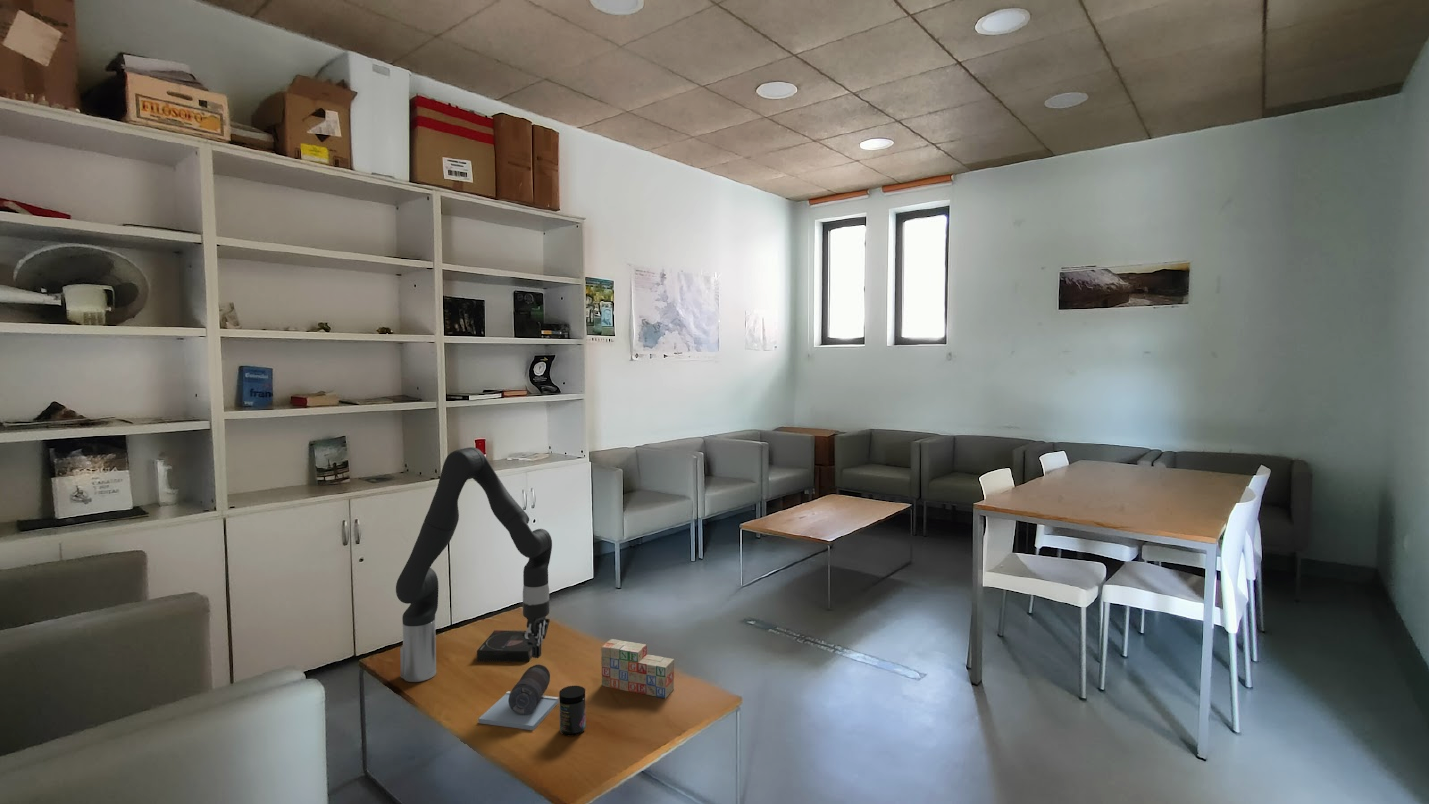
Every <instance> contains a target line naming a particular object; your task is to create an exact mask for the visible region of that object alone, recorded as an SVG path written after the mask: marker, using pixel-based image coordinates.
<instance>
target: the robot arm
mask: <svg viewBox="0 0 1429 804" xmlns="http://www.w3.org/2000/svg"><path fill="white" fill-rule="evenodd" d="M471 479H473V480H474V481H475V482H476V483H477V484H478V485H479V486H480V487H481V488H482V489H483V491H484V493H485V495H486V497H487V500H488V503H489V507H490V509H491V512H492V513H493V515H494V516H495V518H496V519H497V520H498V521H499V523H501V525H502V526H503V528H505V529H506V530H507V531H508V533H509V536H510V538H511V540H512V541H513V542H512V543H513V544H514V546H515V548H516V549H517V551H518V552H519V553H520V554H521V555H522V556H523V557H526V558H528V562H527V563H526V564H525V565H524V567H523V580H522V581H523V584H522V585H523V586H522V616H523V617H524V618H526V620H527V621H526V630H525V631H526V633H523V634H522V637H523V638H524V640H525V642H526V643H527V645H528V646H532V657H531V658H533V659H539V658H540V657H541V656H542V644H543V643H544V642H543V640H545V639H546V636H547V632H548V629H549V625H550V622H551V621H550V618H547V616H549V614H550V588H549V587H550V586H549V565H550V561H551V555H552V552H553V551H552V549H553V540H552V537H551V534H550V532H549V531H547V530H546V529H544V528H538V529H534V530H532V529H531V528H530V526H529V525H528V524H529V521H530V518H529V515H528V514H527V513H526V511H525V510H524V509H523V507H521V506H520V505H519V504H518V502H517V501H516V500H515V498H514V497H513V496H512V495H511V494H510V492H509V491H508V490H507V488H506V486H504V484H503V482H502V481H501V479H500V478H499V476H498V474H497V472H496V471H495V469H494V468H493V467H492V465H491V463H490V461H489V460H488V458H487V457H486V455H485V454H484V453H483V452H482V451H481V450H480V449H479V448H476V447H470V446H469V447H465V448H460V449H456V450H453V451H451V452H450V453H449V454H448V455H447V457H445V460H444V463H443V465H442V469H441V473H440V476H439V480H438V483H437V487H436V490H435V493H434V495H433V498H432V500H431V503H430V505H429V508H428V510H427V513H426V514H425V517H424V520H423V523H422V524H421V528H420V531H419V534H418V536H417V538H416V541H415V542H414V546H413V548H412V551H411V553H410V555H409V557H408V560H407V561H406V563H405V565H404V566H403V569H402V570H401V573H400V575H399V576H398V578H397V580H396V581H397V582H396V584H395V594H396V597H397V598H398V600H399V601H400V602H401V603H403V604H407V605H408V604H409V606H408V607H407V609H405V611H404V612H403V614H402V646H401V647H400V650H399V656H400V658H399V659H400V679H403V680H404V681H405V682H409V683H420V682H425V681H427V680H430V679H432V678H433V677H434V676H436V675H437V646H436V645H437V644H436V643H437V642H436V641H437V638H436V613H437V611H438V607H439V578H438V575H437V573H436V571H435V570H434V569H433V568H432V567H431V566H432V565H433V563H434V562H435V561H437V559H438V557H439V556H440V555H441V554H442V552H443V551H444V550H445V548H447V546H448V545H449V544H450V542H451V541H452V538H453V536H454V534H455V531H456V529H457V526H458V522H459V520H460V518H459V517H460V514H459V513H460V511H459V503H458V502H459V499H460V495H461V492H462V490H463V488H464V486H465V485H466V482H467V481H468V480H471Z"/></svg>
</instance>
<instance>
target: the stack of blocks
mask: <svg viewBox="0 0 1429 804" xmlns="http://www.w3.org/2000/svg"><path fill="white" fill-rule="evenodd" d="M647 647H648V646H647V644H645V643H638V642H633V641H625V640H619V639H615V638H614V639H613V638H610V640H608V641H606V642H605V643H604V644H603V645H602V646H601V647H600V648H601V649H600V651H601V655H600V656H601V659H600V660H601V661H600V663H601V686H604V687H608V688H610V689H616V690H621V691H626V692H632V693H636V694H641V695H647V696H653V697H657V698H663V699H666V698H667V697H668V696H669V695H670V694H672V692H673V691H674V689H675V684H674V683H675V682H674V681H675V658H670V657H664V656H660V655H652V654H648V652H647V651H648V650H647Z"/></svg>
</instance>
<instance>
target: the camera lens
mask: <svg viewBox="0 0 1429 804" xmlns="http://www.w3.org/2000/svg"><path fill="white" fill-rule="evenodd" d="M550 673H551V672H550V670H549V669H548V668H547V667H546V666H545V665H543V664H534V665H533V666H530V667H529V668H528V669H526V670H525V672H524V673H523V674H522V676H521V677H520V679H519V680H518V681H517V682H516V684H515V685H514V686H513V688H512V689H511V692H510V695H509V699H508V702H509V706H510V708H511V709H512V710H513V711H514V712H515V713H517V714H521V715H525V714H529V713H530V712H532V711H533V710H534V709H535V708H536V706H537V705H538V703H539V701H540V699H541V697H542V695H543V696H544V694H545V692H546V691H547V689H548V686H549V685H550V681H551V680H550V679H551V674H550Z"/></svg>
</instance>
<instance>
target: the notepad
mask: <svg viewBox="0 0 1429 804" xmlns="http://www.w3.org/2000/svg"><path fill="white" fill-rule="evenodd" d="M511 691H512V690H511ZM511 691H509V690H507V691H506V692H505V694H504V695H503V696H502V697H500V698H499V700H497V701H496V702H495V703H494V704H493V705H492V706H491V707H489V708H488V710H486V711H485V712H484V713H483V714H482V715H481V716H479V718H478V724H483V725H491V726H499V727H506V728H514V729H520V730H526V731H527V730H529V731H534V730H535V729H536V728H537V727H538V726H539V725H540V724H541V722H543V720H544V719H545V718H546V717H547V716H548V715H549V714H550V713H551V712H552V711H553V709H554V708H555V707H556V706H557V705H558V704H559V696H551V695H550V696H549V695H544V694H543V695H542V697H541V699H540V701H539V703H538V705H537V706H536V708H535V709H534V710H533V711H532V712H530V713H529V714H525V715H521V714H517V713H515V712H514V711H513V710H512V709H511V708H510V706H509V702H508V699H509V695H510V692H511Z"/></svg>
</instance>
